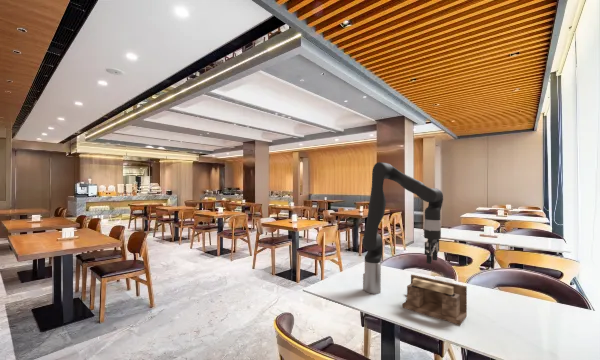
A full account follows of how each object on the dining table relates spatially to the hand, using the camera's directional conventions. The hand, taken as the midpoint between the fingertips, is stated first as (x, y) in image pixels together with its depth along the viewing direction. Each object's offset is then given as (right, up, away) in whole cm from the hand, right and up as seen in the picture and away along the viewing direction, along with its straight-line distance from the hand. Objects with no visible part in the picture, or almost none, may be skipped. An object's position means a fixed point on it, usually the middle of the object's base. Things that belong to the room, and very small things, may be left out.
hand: (432, 261), depth 138 cm
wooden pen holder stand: (+1, -24, 0) cm, 24 cm away
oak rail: (-1, -17, -1) cm, 17 cm away
